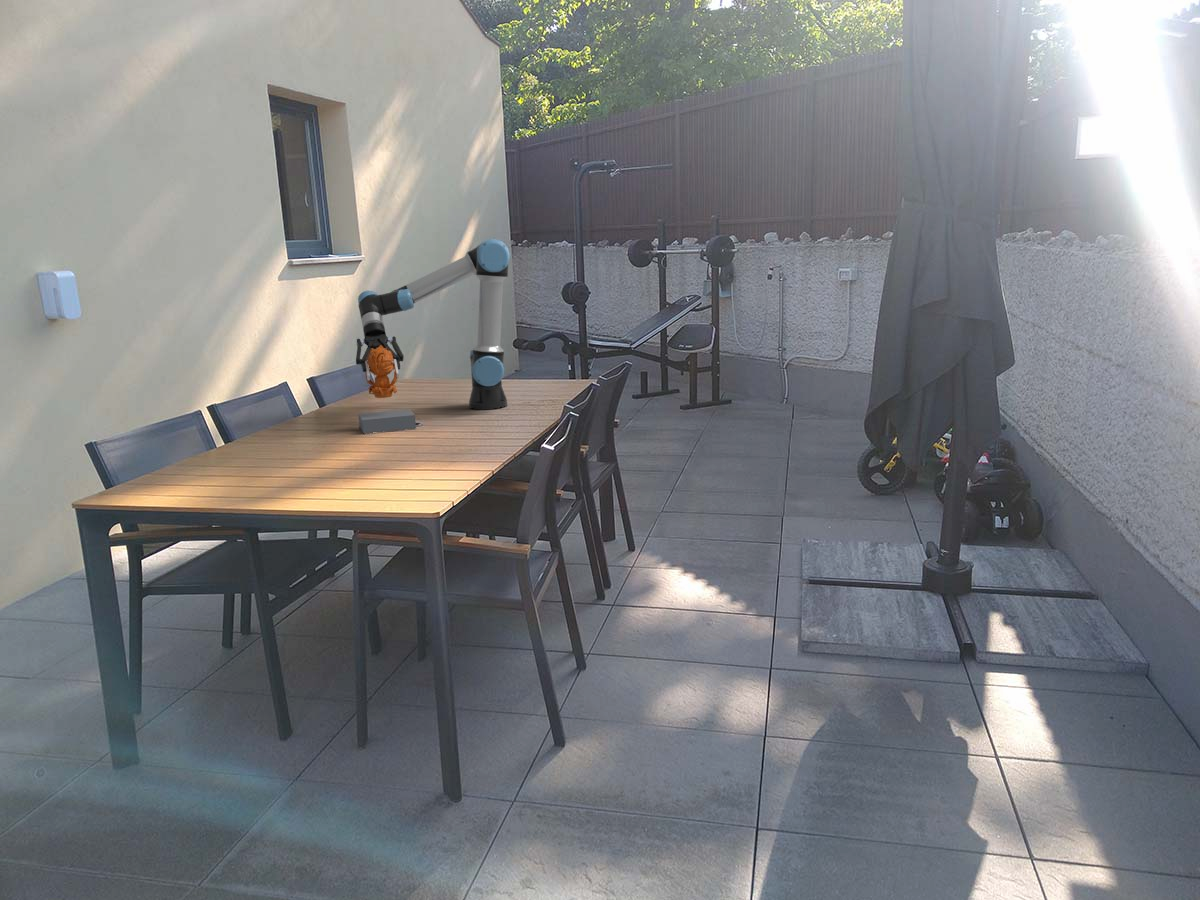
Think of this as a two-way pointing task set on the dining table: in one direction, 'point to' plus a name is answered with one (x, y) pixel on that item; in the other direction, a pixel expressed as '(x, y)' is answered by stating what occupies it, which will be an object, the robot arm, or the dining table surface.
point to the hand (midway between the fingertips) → (383, 377)
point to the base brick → (386, 421)
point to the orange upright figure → (381, 372)
